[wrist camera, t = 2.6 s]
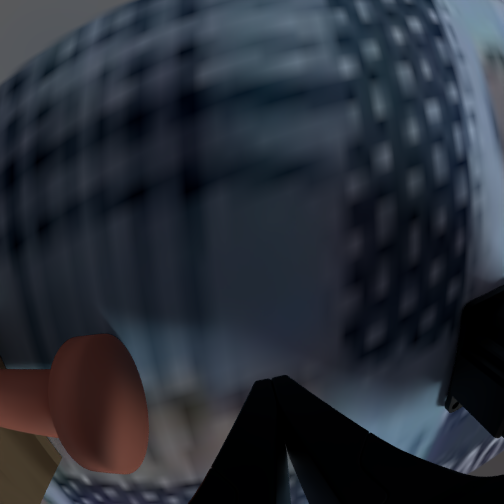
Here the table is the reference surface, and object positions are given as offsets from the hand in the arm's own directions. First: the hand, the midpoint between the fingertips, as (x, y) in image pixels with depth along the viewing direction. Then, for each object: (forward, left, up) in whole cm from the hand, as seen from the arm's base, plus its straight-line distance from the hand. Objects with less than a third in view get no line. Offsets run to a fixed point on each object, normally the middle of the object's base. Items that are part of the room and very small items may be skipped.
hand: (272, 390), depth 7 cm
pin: (+9, 0, -2) cm, 10 cm away
